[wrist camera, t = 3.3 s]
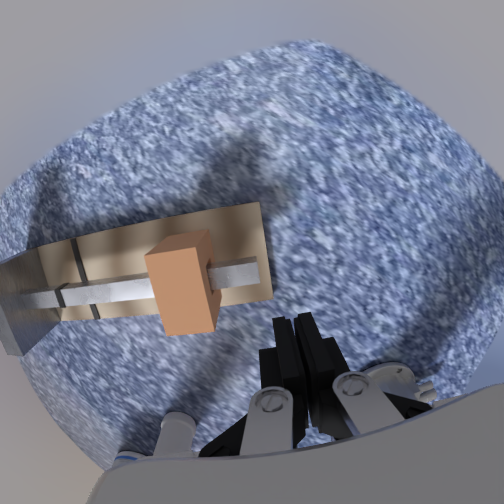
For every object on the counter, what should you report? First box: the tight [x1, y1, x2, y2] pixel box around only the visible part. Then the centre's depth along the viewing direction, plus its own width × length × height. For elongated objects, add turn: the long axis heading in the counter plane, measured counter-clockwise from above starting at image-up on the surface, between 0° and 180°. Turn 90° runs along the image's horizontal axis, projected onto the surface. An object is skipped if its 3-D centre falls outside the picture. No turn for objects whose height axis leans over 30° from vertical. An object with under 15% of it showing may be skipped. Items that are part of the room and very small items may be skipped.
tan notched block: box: [144, 229, 222, 336], centre depth 24 cm, size 4×7×7 cm, turn 9°
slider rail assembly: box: [0, 248, 260, 356], centre depth 25 cm, size 30×10×10 cm, turn 99°
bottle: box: [153, 412, 196, 456], centre depth 24 cm, size 5×5×25 cm
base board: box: [25, 201, 274, 321], centre depth 29 cm, size 31×10×1 cm, turn 99°
